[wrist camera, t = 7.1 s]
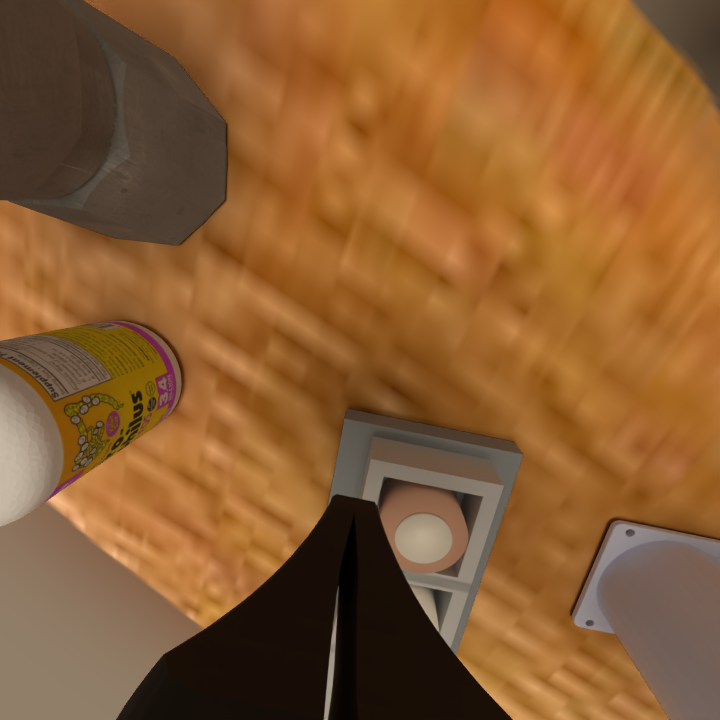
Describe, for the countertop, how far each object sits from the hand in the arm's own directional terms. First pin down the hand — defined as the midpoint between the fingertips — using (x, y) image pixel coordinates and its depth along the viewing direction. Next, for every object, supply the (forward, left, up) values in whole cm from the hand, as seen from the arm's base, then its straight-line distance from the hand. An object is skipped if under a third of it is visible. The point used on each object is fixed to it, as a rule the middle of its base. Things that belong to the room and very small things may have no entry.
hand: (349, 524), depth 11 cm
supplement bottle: (+14, +1, -11) cm, 18 cm away
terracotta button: (-4, +4, -9) cm, 11 cm away
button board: (-4, +11, -10) cm, 15 cm away
